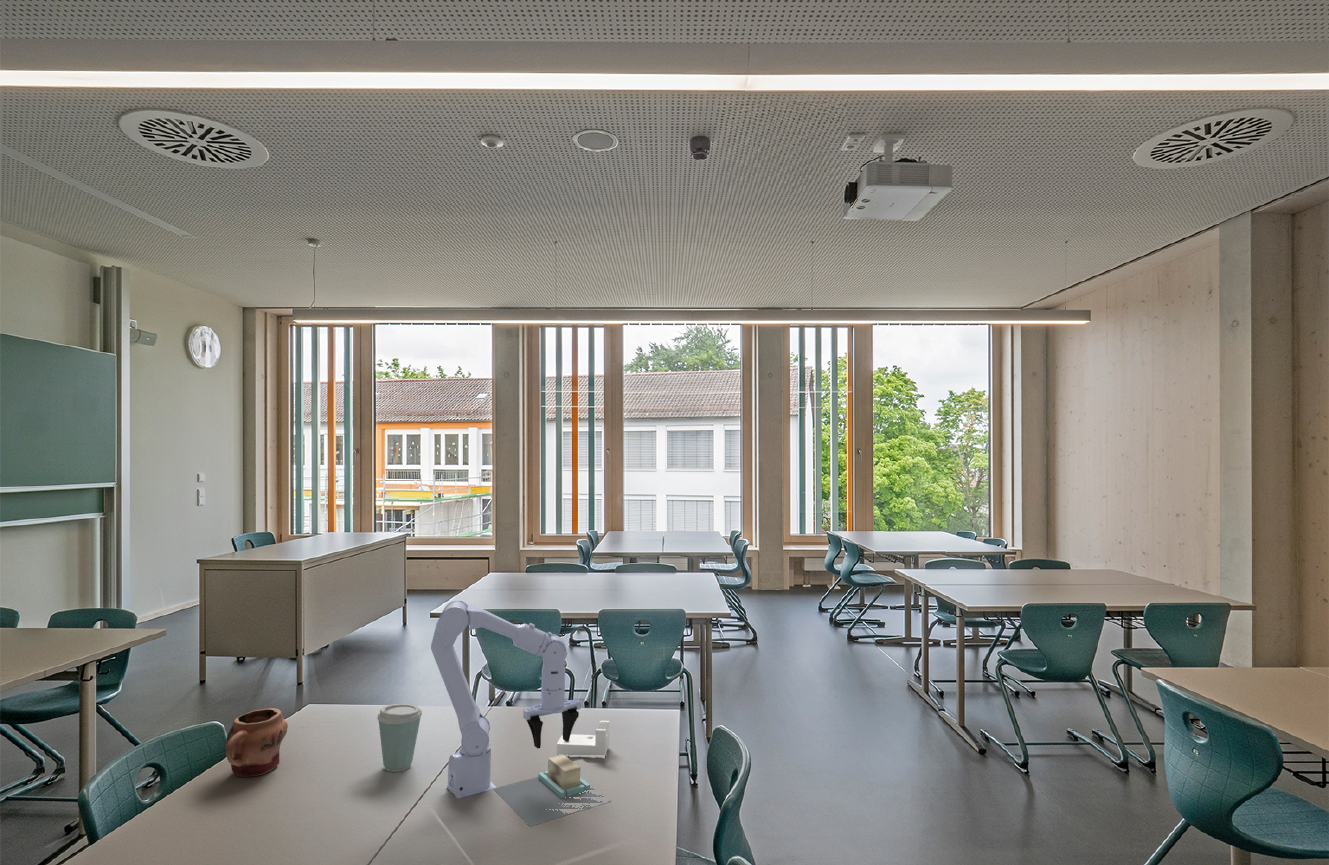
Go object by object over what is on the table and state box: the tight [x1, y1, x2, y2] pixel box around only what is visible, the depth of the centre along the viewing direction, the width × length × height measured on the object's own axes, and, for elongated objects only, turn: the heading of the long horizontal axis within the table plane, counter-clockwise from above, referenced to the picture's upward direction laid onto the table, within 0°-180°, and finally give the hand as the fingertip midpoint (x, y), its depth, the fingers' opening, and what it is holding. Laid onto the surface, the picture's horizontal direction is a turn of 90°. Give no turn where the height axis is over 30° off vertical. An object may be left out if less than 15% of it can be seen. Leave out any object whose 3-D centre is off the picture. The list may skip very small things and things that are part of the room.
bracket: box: [556, 720, 611, 755], centre depth 188 cm, size 13×7×8 cm, turn 85°
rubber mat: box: [493, 776, 605, 828], centre depth 161 cm, size 20×21×1 cm
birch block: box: [547, 755, 581, 791], centre depth 167 cm, size 9×4×5 cm, turn 35°
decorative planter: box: [225, 707, 289, 778], centre depth 173 cm, size 20×12×14 cm, turn 2°
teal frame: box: [537, 770, 591, 798], centre depth 167 cm, size 8×12×1 cm, turn 35°
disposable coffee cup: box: [377, 703, 423, 773], centre depth 177 cm, size 11×11×15 cm
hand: (551, 743), depth 170 cm, fingers open, 7 cm apart
